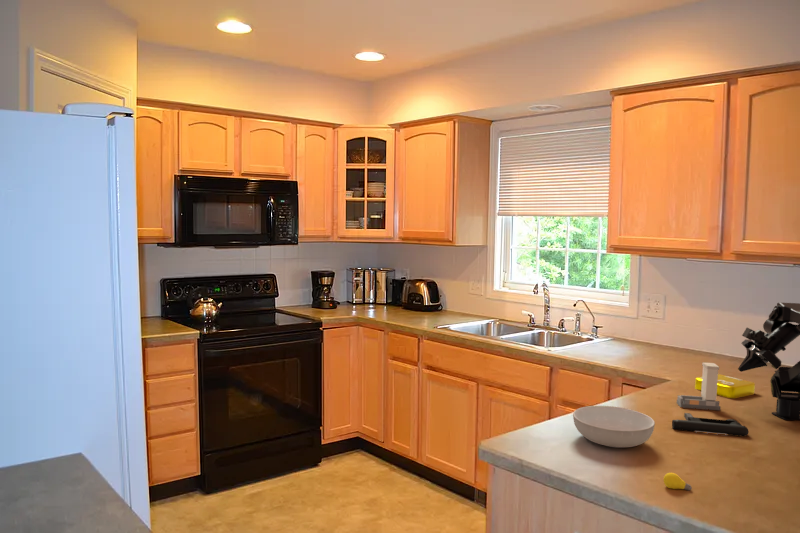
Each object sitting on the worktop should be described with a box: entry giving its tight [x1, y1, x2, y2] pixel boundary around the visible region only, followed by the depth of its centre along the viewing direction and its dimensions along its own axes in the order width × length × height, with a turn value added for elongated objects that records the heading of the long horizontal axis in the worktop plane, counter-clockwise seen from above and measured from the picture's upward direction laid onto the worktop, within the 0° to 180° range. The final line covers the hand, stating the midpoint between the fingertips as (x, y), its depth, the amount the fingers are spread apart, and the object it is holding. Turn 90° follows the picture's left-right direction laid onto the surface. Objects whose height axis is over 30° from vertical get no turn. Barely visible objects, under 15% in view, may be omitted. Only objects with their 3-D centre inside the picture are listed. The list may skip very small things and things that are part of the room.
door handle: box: [671, 412, 749, 437], centre depth 183 cm, size 3×20×16 cm
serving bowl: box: [572, 405, 656, 448], centre depth 168 cm, size 21×21×7 cm
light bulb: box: [662, 472, 693, 492], centre depth 139 cm, size 3×6×4 cm, turn 74°
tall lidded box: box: [700, 362, 720, 401], centre depth 202 cm, size 4×5×13 cm
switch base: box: [676, 394, 721, 411], centre depth 202 cm, size 12×5×3 cm, turn 80°
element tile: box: [694, 373, 756, 399], centre depth 223 cm, size 15×15×5 cm
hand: (739, 370), depth 200 cm, fingers closed
